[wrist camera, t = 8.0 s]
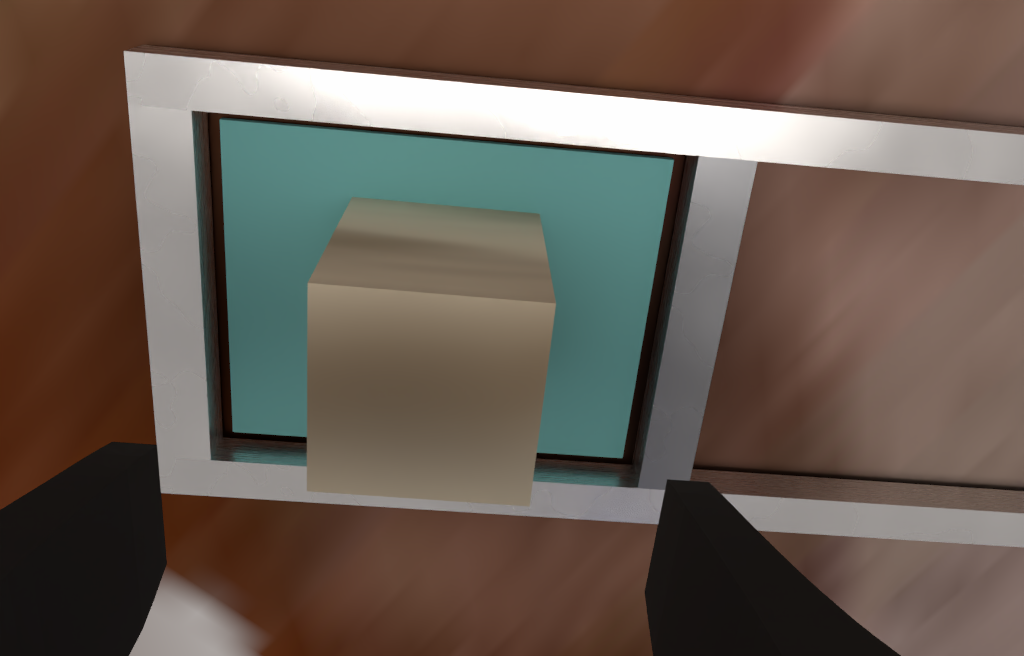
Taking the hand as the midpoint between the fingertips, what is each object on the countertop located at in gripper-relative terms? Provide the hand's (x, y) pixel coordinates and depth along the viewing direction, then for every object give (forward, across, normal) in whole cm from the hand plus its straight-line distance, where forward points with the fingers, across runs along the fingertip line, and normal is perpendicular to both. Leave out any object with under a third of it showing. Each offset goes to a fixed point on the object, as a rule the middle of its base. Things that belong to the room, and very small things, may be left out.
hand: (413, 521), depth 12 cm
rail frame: (+8, -6, 0) cm, 10 cm away
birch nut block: (+8, 0, 0) cm, 8 cm away
